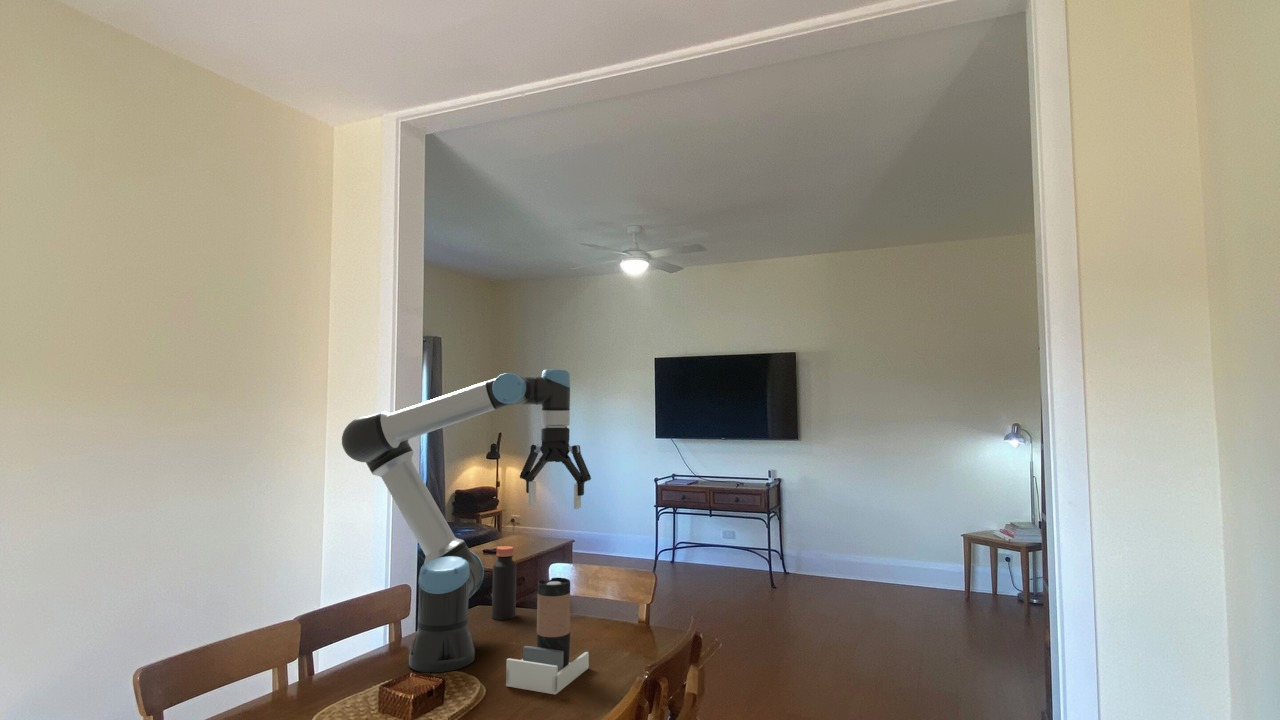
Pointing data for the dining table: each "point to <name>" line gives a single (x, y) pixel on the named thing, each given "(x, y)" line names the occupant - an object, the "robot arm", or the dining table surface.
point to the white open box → (543, 674)
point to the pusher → (543, 656)
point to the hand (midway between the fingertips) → (554, 507)
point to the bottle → (504, 585)
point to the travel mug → (554, 616)
